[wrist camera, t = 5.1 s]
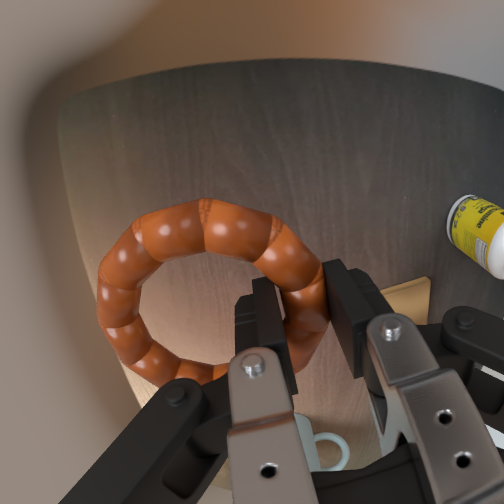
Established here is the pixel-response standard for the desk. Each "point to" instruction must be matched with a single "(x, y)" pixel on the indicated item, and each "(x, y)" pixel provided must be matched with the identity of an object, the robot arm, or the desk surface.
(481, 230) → the pill bottle
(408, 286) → the stand
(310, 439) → the mug
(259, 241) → the ring
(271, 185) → the desk surface
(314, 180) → the desk surface
